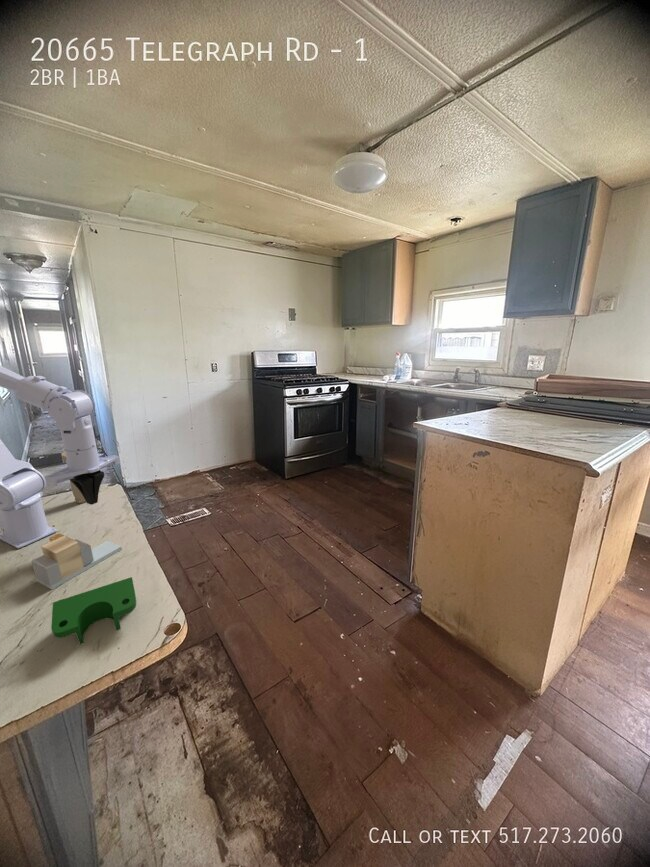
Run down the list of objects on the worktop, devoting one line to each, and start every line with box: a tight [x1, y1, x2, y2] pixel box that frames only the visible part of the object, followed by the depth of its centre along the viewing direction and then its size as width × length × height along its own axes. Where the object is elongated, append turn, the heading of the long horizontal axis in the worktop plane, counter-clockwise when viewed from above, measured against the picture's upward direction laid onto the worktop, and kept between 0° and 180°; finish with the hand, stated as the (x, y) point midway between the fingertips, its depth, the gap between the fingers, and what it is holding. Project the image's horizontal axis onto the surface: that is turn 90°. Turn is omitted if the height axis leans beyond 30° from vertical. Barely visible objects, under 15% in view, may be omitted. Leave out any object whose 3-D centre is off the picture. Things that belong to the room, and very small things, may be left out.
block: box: [41, 535, 84, 580], centre depth 68 cm, size 5×4×6 cm
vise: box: [31, 540, 123, 590], centre depth 71 cm, size 5×14×5 cm, turn 154°
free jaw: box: [48, 532, 94, 566], centre depth 72 cm, size 12×2×4 cm, turn 64°
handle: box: [61, 450, 86, 504], centre depth 96 cm, size 5×6×15 cm
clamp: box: [50, 576, 137, 645], centre depth 56 cm, size 12×6×9 cm, turn 116°
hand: (92, 502), depth 78 cm, fingers closed
